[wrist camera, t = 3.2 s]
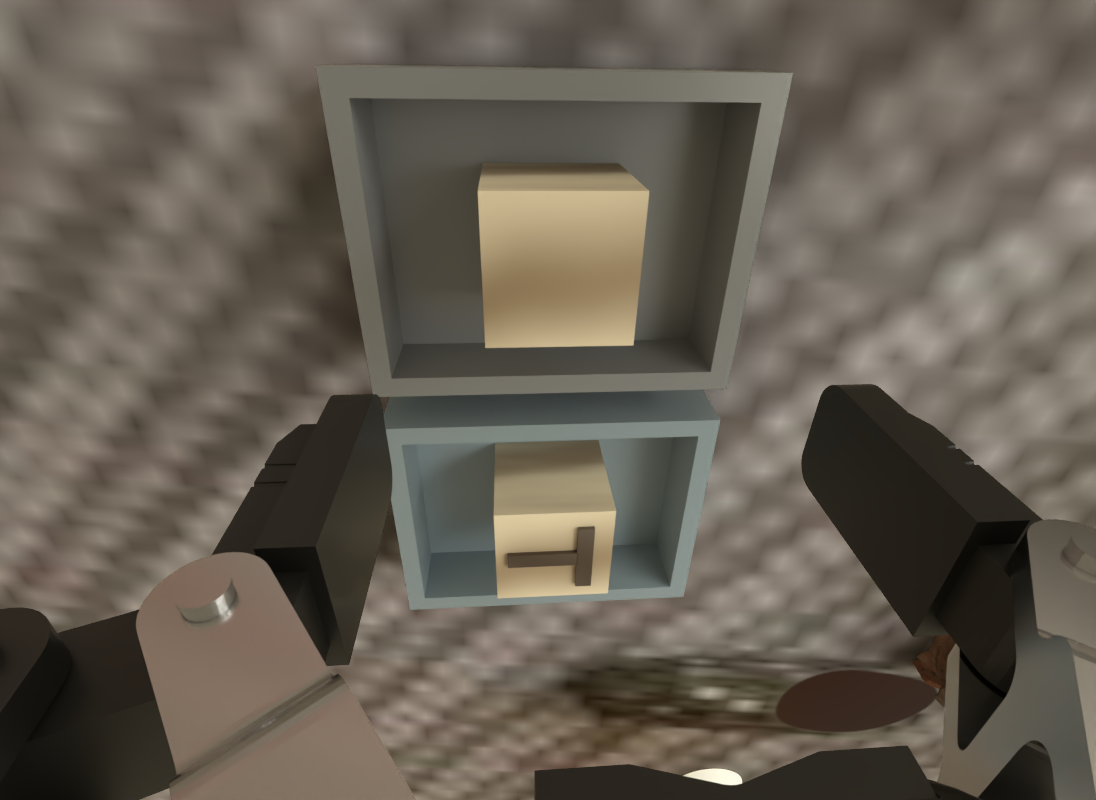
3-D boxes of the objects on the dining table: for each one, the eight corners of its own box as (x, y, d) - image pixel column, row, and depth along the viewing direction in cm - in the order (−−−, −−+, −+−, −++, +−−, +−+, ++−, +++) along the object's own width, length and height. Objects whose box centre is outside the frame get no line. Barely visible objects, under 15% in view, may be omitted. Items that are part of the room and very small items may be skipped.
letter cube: (495, 442, 27) (493, 519, 22) (598, 439, 27) (616, 514, 23) (498, 520, 29) (497, 602, 25) (592, 516, 30) (608, 596, 25)
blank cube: (482, 163, 20) (477, 191, 16) (619, 163, 21) (649, 190, 16) (488, 294, 23) (485, 348, 19) (609, 292, 23) (633, 345, 19)
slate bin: (393, 384, 25) (378, 429, 22) (695, 377, 26) (720, 420, 23) (419, 555, 31) (410, 609, 28) (666, 545, 32) (683, 596, 29)
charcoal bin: (345, 64, 19) (315, 65, 16) (748, 70, 20) (793, 72, 17) (389, 354, 25) (373, 397, 22) (700, 349, 26) (726, 388, 23)
